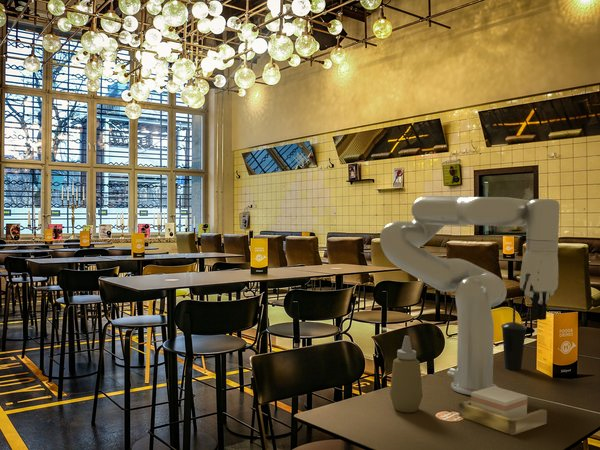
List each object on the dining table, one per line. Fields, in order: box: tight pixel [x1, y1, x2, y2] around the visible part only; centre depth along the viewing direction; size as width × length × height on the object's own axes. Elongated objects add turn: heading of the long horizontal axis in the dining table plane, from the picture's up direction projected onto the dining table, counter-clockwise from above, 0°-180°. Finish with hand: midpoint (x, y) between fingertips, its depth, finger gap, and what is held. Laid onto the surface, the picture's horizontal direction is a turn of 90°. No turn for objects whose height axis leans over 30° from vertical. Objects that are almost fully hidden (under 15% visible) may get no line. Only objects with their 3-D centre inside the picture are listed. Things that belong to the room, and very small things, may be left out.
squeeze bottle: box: [389, 335, 423, 413], centre depth 136 cm, size 8×8×18 cm
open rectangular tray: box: [458, 399, 548, 436], centre depth 130 cm, size 14×13×3 cm
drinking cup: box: [500, 305, 528, 371], centre depth 177 cm, size 8×8×20 cm
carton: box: [470, 386, 528, 419], centre depth 131 cm, size 9×9×6 cm
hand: (538, 318), depth 142 cm, fingers closed
